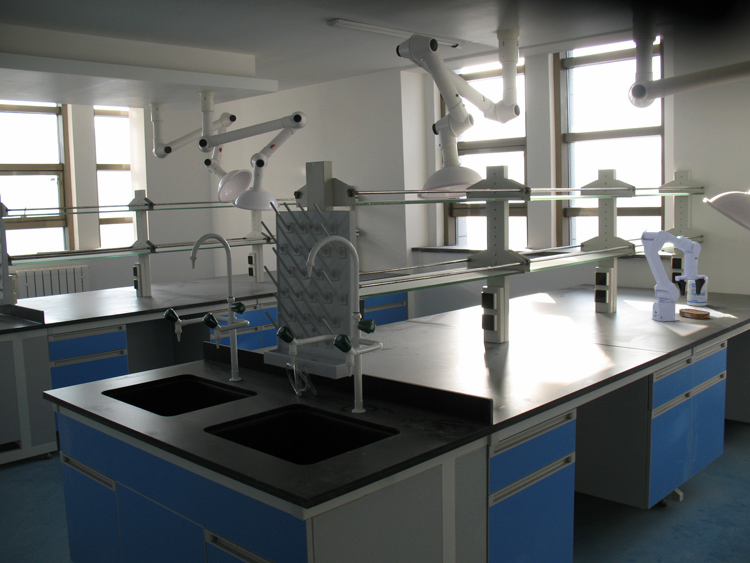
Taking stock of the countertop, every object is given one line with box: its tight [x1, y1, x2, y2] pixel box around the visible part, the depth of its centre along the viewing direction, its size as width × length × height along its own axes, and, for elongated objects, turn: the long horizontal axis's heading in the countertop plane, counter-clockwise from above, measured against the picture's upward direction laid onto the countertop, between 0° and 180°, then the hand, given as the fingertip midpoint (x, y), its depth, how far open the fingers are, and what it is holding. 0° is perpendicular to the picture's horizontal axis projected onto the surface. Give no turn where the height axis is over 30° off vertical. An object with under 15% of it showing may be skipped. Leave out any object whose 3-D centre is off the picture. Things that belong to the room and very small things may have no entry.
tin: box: [678, 308, 711, 320], centre depth 321 cm, size 15×3×8 cm
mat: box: [708, 310, 731, 319], centre depth 324 cm, size 7×15×1 cm, turn 7°
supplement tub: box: [686, 276, 709, 307], centre depth 351 cm, size 10×10×15 cm
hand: (690, 294), depth 321 cm, fingers open, 7 cm apart
